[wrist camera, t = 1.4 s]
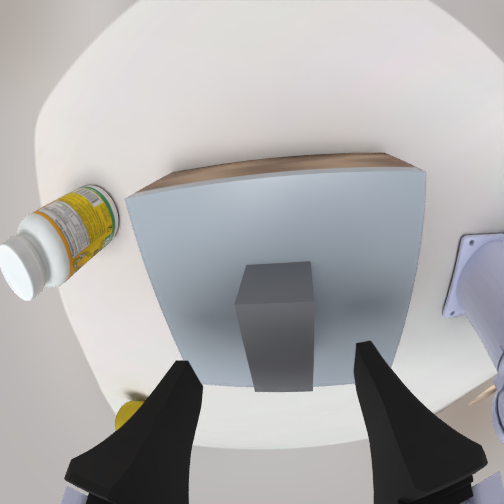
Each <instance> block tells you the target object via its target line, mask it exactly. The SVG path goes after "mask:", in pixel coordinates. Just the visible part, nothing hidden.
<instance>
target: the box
mask: <svg viewBox="0 0 504 504" xmlns="http://www.w3.org/2000/svg"><path fill="white" fill-rule="evenodd" d="M354 167H415V166H413V165H411V164H409V163H407V162H404V161H402V160H400V159H398V158H395V157H393V156H391V155H388V154H386V153H342V154H320V155H304V156H291V157H279V158H269V159H260V160H251V161H243V162H235V163H228V164H221V165H214V166H208V167H201V168H196V169H190V170H184V171H179V172H173V173H171V174H169V175H167V176H165V177H163V178H161V179H159V180H157V181H155V182H154V183H152V184H150V185H148V186H146V187H145V188H143V189H141V190H139V191H138V192H143V191H148V190H153V189H159V188H164V187H170V186H175V185H181V184H187V183H194V182H200V181H207V180H214V179H221V178H229V177H237V176H245V175H254V174H264V173H274V172H285V171H297V170H312V169H329V168H354ZM138 192H136V193H138Z"/></svg>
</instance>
